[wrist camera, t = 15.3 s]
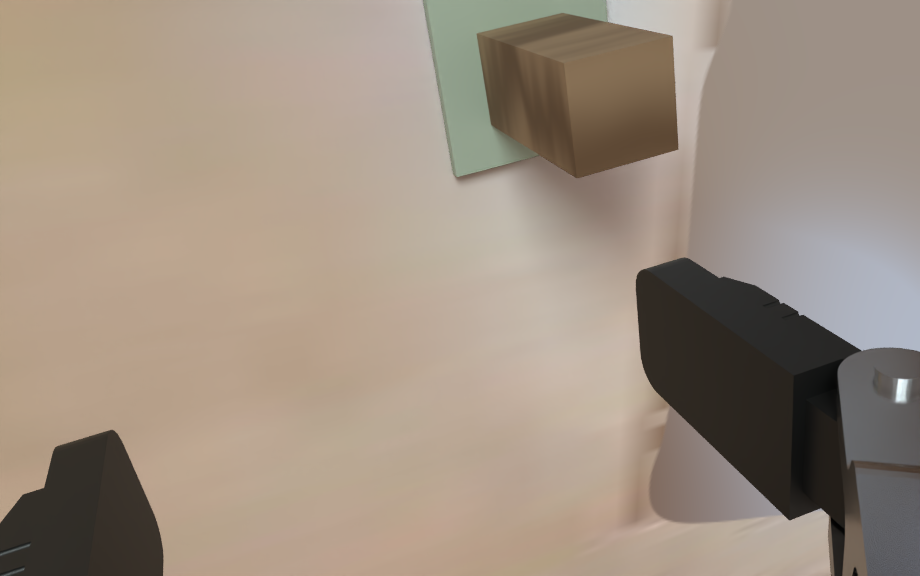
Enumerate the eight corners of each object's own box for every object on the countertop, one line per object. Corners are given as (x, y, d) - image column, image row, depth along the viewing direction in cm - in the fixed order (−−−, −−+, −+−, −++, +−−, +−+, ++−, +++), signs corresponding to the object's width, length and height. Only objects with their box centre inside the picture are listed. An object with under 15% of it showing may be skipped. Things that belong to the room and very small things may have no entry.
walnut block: (476, 33, 38) (564, 63, 29) (562, 12, 39) (672, 35, 30) (490, 125, 40) (577, 178, 31) (572, 103, 41) (678, 149, 32)
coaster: (421, -10, 37) (424, -9, 37) (596, -46, 39) (602, -46, 38) (453, 174, 41) (456, 177, 41) (611, 132, 43) (616, 135, 42)
